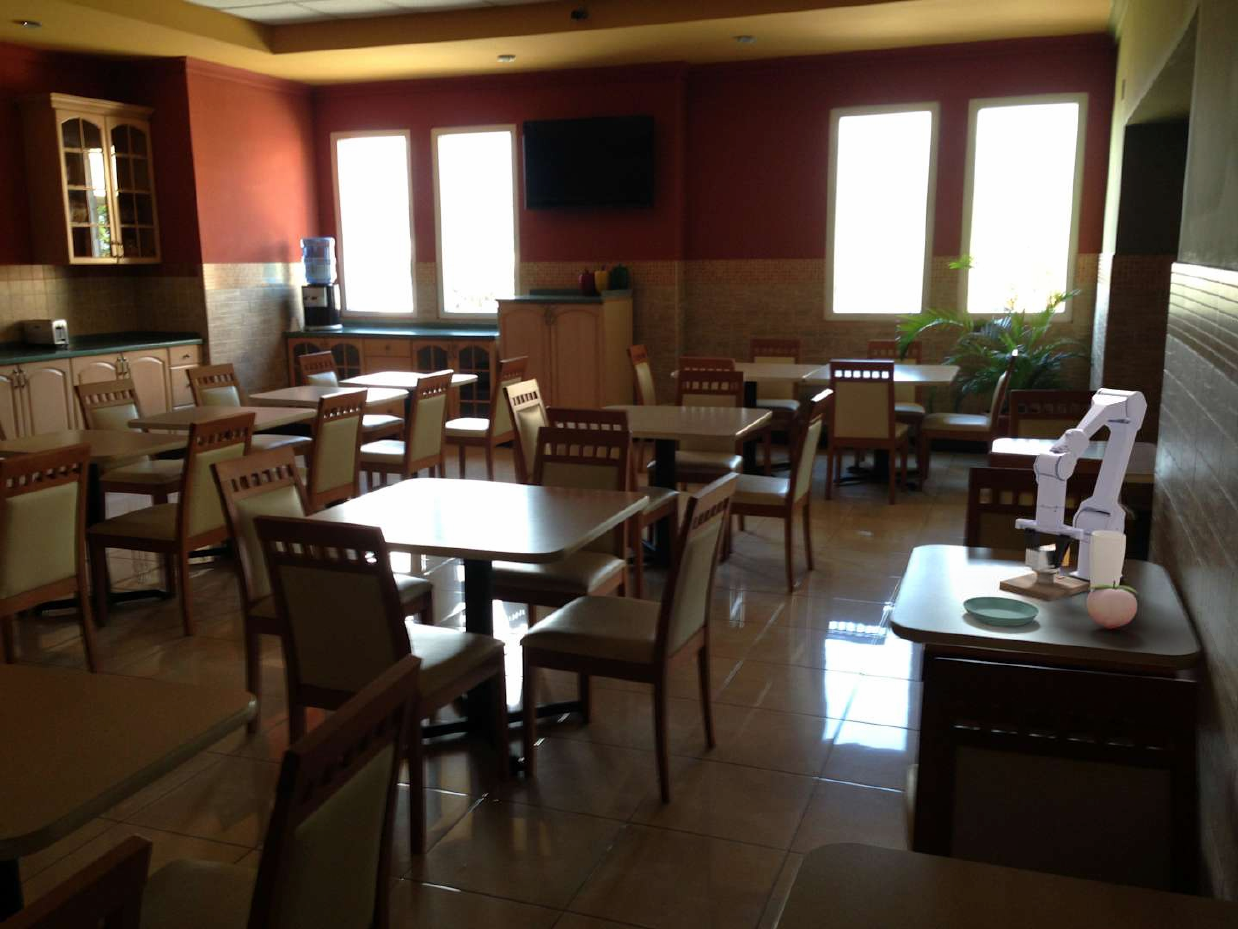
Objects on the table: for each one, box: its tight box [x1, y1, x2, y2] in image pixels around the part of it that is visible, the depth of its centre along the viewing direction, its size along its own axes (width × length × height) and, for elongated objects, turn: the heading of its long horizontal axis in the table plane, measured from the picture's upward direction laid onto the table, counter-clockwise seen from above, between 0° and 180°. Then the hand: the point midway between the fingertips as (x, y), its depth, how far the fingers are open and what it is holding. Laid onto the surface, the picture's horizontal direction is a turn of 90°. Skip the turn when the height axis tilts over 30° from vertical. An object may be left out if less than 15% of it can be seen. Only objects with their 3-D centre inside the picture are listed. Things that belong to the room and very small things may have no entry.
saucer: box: [962, 596, 1040, 627], centre depth 212 cm, size 15×15×3 cm
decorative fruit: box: [1086, 581, 1140, 630], centre depth 205 cm, size 9×8×10 cm
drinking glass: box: [1089, 530, 1127, 593], centre depth 223 cm, size 7×7×15 cm
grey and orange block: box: [1024, 543, 1071, 575], centre depth 232 cm, size 6×9×5 cm, turn 115°
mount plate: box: [998, 572, 1090, 602], centre depth 232 cm, size 16×12×4 cm
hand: (1046, 564), depth 232 cm, fingers closed on grey and orange block, 5 cm apart
